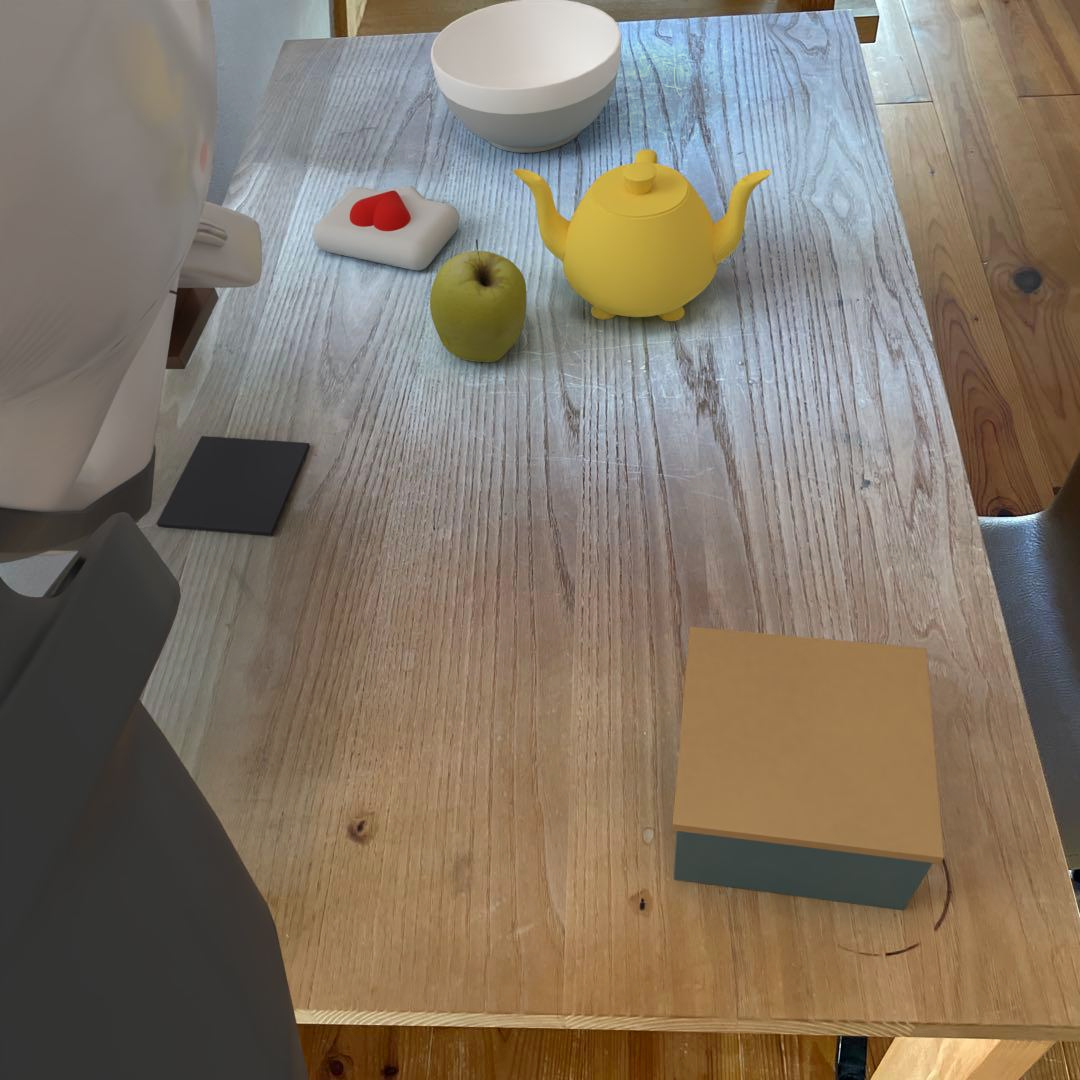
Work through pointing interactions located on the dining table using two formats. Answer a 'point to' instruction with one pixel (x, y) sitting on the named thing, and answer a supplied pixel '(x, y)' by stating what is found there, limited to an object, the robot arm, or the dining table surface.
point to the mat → (235, 485)
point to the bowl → (528, 71)
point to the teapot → (640, 237)
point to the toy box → (806, 768)
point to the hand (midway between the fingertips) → (141, 269)
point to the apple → (478, 305)
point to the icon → (387, 227)
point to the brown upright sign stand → (189, 323)
